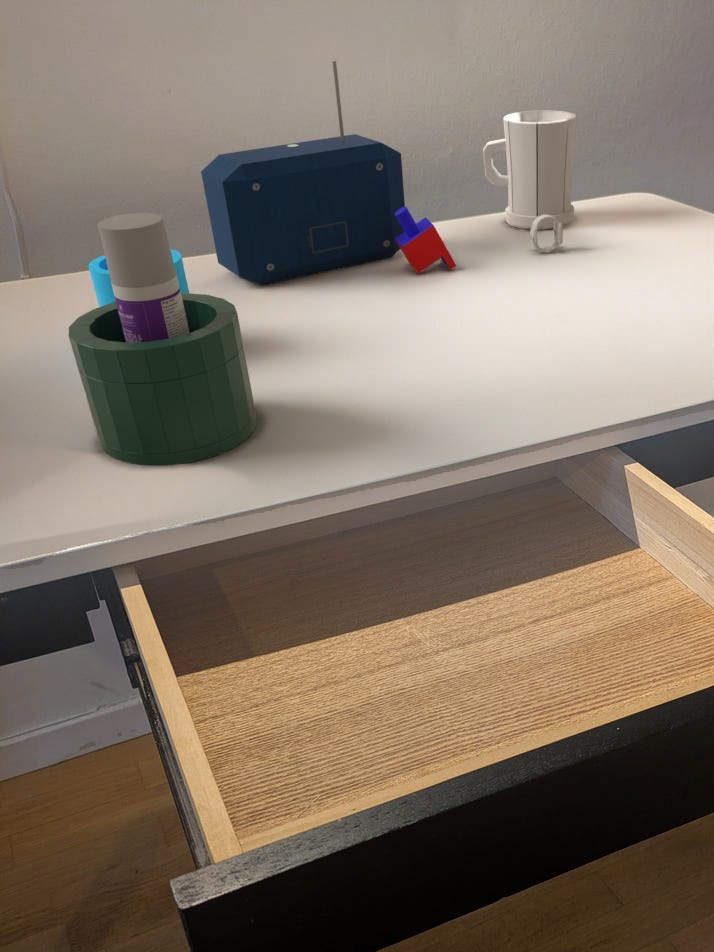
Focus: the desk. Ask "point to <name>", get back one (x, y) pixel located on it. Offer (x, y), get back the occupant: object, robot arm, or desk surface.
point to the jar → (166, 385)
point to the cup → (535, 166)
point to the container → (143, 277)
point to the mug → (105, 286)
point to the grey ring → (557, 233)
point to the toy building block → (421, 242)
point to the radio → (305, 206)
